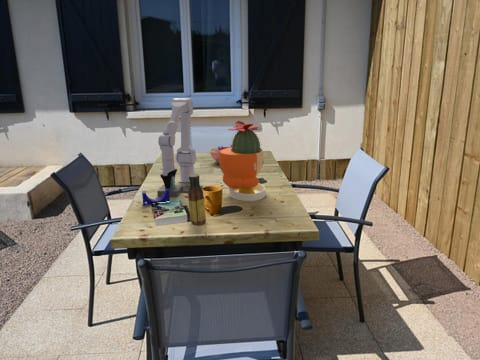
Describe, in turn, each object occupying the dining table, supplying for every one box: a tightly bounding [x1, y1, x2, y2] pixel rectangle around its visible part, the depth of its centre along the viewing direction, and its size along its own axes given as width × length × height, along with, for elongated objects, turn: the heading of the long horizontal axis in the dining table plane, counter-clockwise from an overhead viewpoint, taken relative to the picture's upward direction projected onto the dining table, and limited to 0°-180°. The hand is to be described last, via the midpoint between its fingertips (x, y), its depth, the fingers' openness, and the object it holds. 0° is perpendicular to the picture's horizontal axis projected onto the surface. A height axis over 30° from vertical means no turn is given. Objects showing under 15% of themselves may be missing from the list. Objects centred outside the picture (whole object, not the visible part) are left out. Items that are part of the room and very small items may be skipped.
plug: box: [165, 176, 176, 189], centre depth 202 cm, size 4×4×8 cm
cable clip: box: [141, 189, 171, 206], centre depth 189 cm, size 12×4×6 cm, turn 106°
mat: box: [181, 185, 204, 194], centre depth 207 cm, size 9×9×1 cm
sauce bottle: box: [187, 173, 207, 226], centre depth 162 cm, size 7×6×20 cm
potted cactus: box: [219, 120, 266, 202], centre depth 193 cm, size 22×22×35 cm
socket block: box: [156, 184, 184, 197], centre depth 203 cm, size 11×10×2 cm
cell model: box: [208, 144, 232, 164], centre depth 258 cm, size 17×20×11 cm
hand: (170, 186), depth 202 cm, fingers open, 7 cm apart
